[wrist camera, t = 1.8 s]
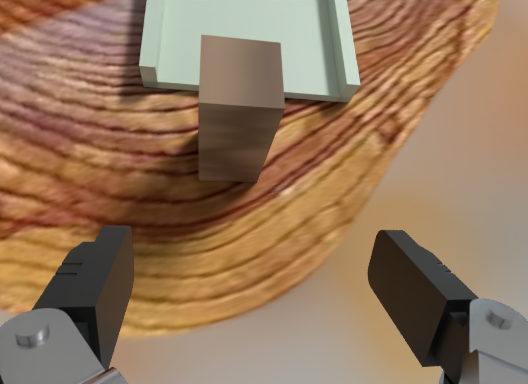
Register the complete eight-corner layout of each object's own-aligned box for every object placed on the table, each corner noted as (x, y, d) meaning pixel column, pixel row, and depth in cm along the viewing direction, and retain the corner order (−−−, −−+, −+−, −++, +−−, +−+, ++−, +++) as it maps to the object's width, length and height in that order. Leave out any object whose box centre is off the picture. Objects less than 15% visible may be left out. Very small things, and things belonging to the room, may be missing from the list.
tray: (143, 86, 29) (138, 65, 27) (159, -59, 36) (156, -86, 34) (348, 102, 32) (360, 85, 30) (328, -35, 39) (337, -58, 37)
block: (198, 180, 27) (198, 102, 18) (200, 129, 29) (201, 34, 20) (256, 182, 28) (284, 108, 19) (255, 132, 29) (280, 42, 20)
